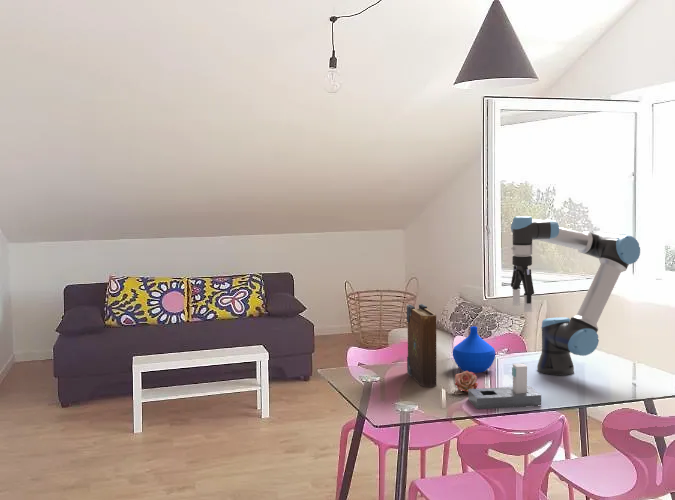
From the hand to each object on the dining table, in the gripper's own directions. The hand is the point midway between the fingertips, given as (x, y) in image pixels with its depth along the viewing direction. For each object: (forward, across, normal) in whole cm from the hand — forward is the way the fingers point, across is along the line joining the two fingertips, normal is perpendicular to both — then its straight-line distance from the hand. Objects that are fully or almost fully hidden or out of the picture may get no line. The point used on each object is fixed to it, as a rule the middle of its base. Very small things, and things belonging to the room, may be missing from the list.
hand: (521, 308), depth 297 cm
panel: (+32, +21, -14) cm, 41 cm away
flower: (+32, +5, -24) cm, 40 cm away
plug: (+31, +21, -8) cm, 38 cm away
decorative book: (+32, -16, -37) cm, 51 cm away
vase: (+32, -27, -12) cm, 43 cm away
